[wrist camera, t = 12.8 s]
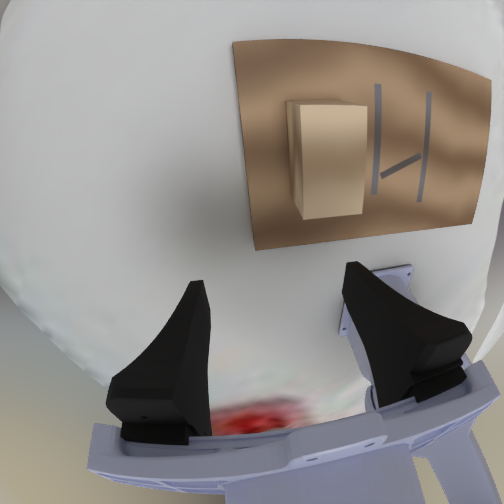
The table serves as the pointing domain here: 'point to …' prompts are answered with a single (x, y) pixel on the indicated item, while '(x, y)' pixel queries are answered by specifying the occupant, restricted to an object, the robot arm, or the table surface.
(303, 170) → the block
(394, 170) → the board
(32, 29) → the table surface
